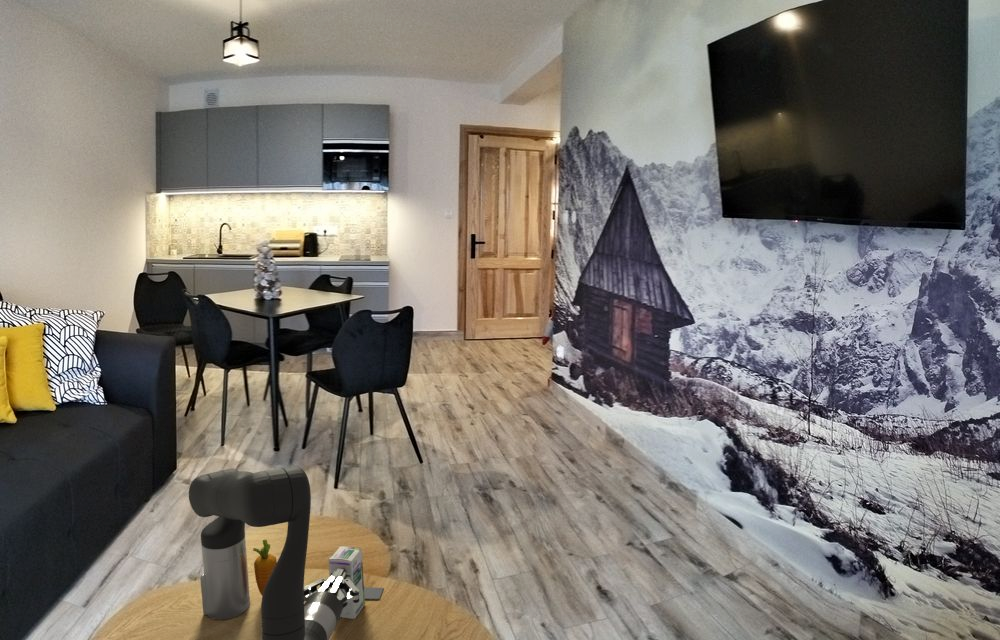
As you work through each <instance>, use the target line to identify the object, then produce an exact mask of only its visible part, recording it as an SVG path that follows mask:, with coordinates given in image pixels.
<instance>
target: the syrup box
mask: <svg viewBox="0 0 1000 640" xmlns="http://www.w3.org/2000/svg"><path fill="white" fill-rule="evenodd" d="M363 564H364V563H363V550H362V548H359V547H354V546H341V545H340V546H339V547H338V548H337V549H336V550H335V552H333V554H331V556H330V557H329V558H328V574H329V577H331V576H332V574H333V572H334V571H335V570H337V569H338V568H345V571H347V578H346V579H350V580H351V581H352V583H353V584H354V585H355V586H356V587H357V588H358V590H359V602H358V603H354V602H353V601H350V602H348V604H347V606H346V607H344V608H343V610H342V613H341V615H340V617H339V618H341V617H342V618H343V619H350V620H355V619H356V618H357V616H358V615H359V614H360V612H361V611H362V610H363V608H364V606H365V605H366V601H365V598H364V587H365V583H364V568H363V567H364V566H363ZM342 590H343V592H344V593H345V594H346V596H347V593H346V592H345V590H344V589H342Z"/></svg>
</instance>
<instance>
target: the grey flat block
mask: <svg viewBox="0 0 1000 640" xmlns="http://www.w3.org/2000/svg"><path fill="white" fill-rule="evenodd" d="M383 592H384V587H370V586H368V587H367V586H364V598H365V600H366V599H370V600H371V599H372V600H371V601H380V599H381V596H382V594H383ZM373 599H374V600H373ZM370 600H369V601H370ZM366 601H367V600H366Z"/></svg>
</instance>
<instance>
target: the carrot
mask: <svg viewBox="0 0 1000 640" xmlns="http://www.w3.org/2000/svg"><path fill="white" fill-rule="evenodd" d="M262 544H263V546H262V547H261V549H259V548H255V547H254V548H253V550H252V551H253V552H256V553H258V554H259V556H256V559H255V560H254V563H253V566H254V567H253V569H254V576H255V581H256V582H255V583H256V585H257V588H258V592H259V593H260V595H261V597H262V596H263V592H264V589H265V586H266V583H267V581H268V579H269V577H270V575H271V573H272V571H273V569H274V567H275V566H276V564H277V561H278V560H277V557H276V556H275V555H273V554H271V553H269V551H270V549H271V544H270V543H268V540H267V539H263V540H262Z"/></svg>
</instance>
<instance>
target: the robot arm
mask: <svg viewBox="0 0 1000 640" xmlns="http://www.w3.org/2000/svg"><path fill="white" fill-rule="evenodd" d="M188 501H189V504H190V507H191V510H192V511H193V512H194V514H196V515H197V516H198V517H200V518H208V517H212V516H216V517H217V518H215V519H214V520H213V521H211V522H209V523H208V524H207V525H205V526H204V528H202V530H201V532H200V543H201V555H202V556H201V557H202V564H203V565H202V566H203V567H202V569H203V573H201V575H200V579H199V580H200V589H201V590H200V591H201V603H202V613H203V616H208V617H209V618H211V619H214V620H228V619H233V618H236V617H238V616H240V615H241V614H243V613H245V612H246V611H247V610H248V609H249V607H250V605H251V598H250V597H251V593H250V584H249V583H250V582H249V569H248V568H249V567H248V557H247V556H248V555H247V545H246V531H245V530H246V525H248V526H250V527H254V528H263V527H270V526H275V525H280V524H284V523H287V530H286V537H285V543H284V545H283V549H282V551H281V552H280V554H279V558H278V559H277V560H276V561H277V564H276V566H275V567H274V569H273V571H272V573H271V575H270V577H269V579H268V581H267V583H266V586H265V589H264V592H263V596H262V595H261V606H260V607H261V608H260V614H261V615H260V616H261V640H330V639H331V637H332V635H333V633H334V631H335V629H336V626H337V624H338V622H339V619H340V618H341V617H340V615H341V613H342V610H343V608H344V607H346V606H347V604H348V602H350V601H353V602H354V603H358V602H359V590H358V588H357V587H356V586H355V585H354V584H353V583H352V581H351V580H350V579H346V578H347V571H345V568H338V569H337V570H335V571H334V572H333V574H332V576H331V577H330V576H329V577H328V578H327V579H326V578H325V577H321V578H319V579H317V580H315V581H313V582H311V583H309V584H307V585H305V574H306V573H305V570H306V560H307V552H308V543H309V542H308V541H309V533H310V532H309V530H310V529H309V528H310V522H311V521H310V519H311V506H312V503H311V501H312V495H311V484H310V480H309V477H308V474H307V473H306V472H305V471H304V469H303V468H302V467H299V466H290V467H283V468H276V469H269V470H263V471H257V472H251V471H245V470H241V471H239V470H238V469H236V468H228V469H227V468H226V469H222V470H219V471H218V470H217V471H214V472H210V473H206V474H202V475H199V476H197V477H195V478H193V480H192V482H191V483H190V484H189V489H188ZM318 586H320V587H318ZM342 589H344V590H345V592H346V593H347V596H346V594H345V593H344V592H343V590H342Z"/></svg>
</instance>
